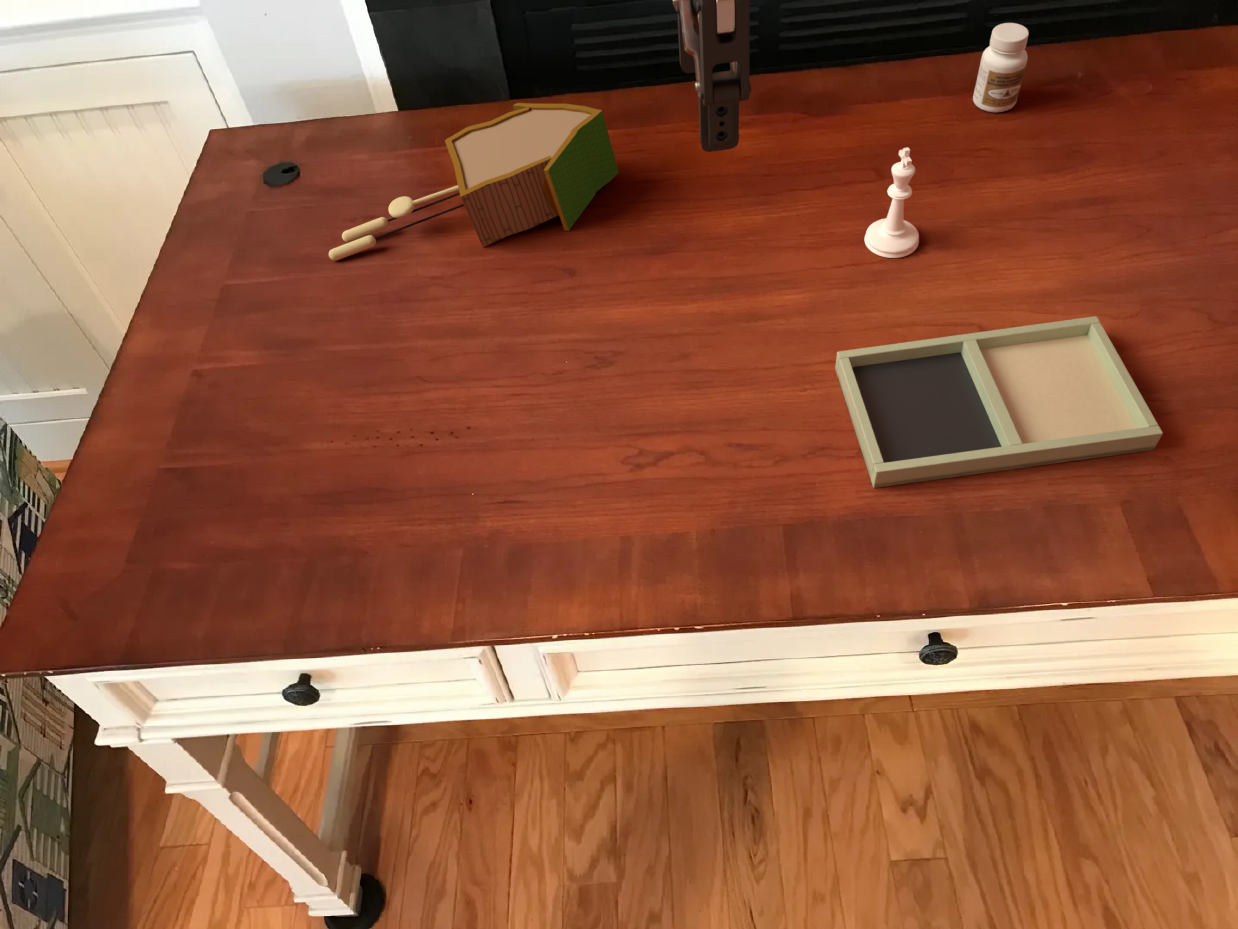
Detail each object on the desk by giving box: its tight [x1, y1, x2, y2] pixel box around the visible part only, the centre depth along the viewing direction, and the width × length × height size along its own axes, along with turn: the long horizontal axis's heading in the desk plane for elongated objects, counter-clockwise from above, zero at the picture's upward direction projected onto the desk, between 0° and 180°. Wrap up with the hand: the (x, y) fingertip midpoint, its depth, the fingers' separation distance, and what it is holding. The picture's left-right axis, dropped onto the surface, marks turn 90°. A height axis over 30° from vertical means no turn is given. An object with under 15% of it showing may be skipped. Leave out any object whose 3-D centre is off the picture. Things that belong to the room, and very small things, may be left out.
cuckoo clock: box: [328, 102, 620, 262], centre depth 97 cm, size 12×8×30 cm
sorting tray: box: [834, 315, 1164, 489], centre depth 78 cm, size 22×13×2 cm, turn 95°
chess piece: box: [863, 146, 920, 259], centre depth 88 cm, size 5×5×10 cm
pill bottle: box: [972, 22, 1030, 113], centre depth 100 cm, size 4×4×8 cm
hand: (707, 105), depth 61 cm, fingers open, 8 cm apart
